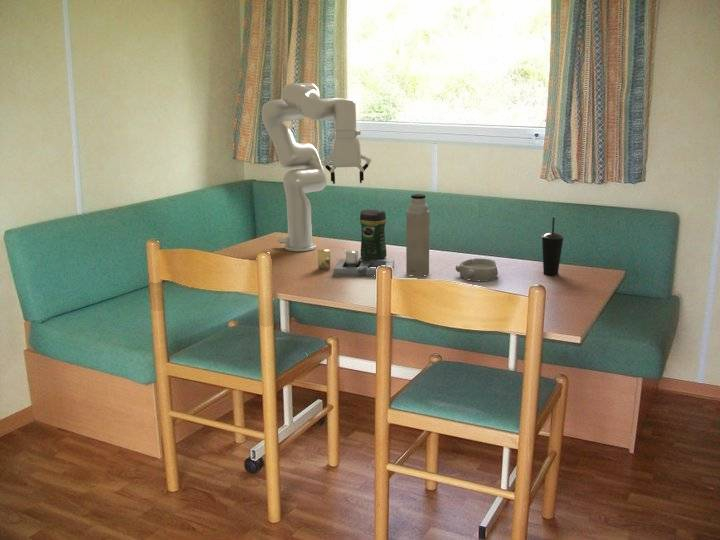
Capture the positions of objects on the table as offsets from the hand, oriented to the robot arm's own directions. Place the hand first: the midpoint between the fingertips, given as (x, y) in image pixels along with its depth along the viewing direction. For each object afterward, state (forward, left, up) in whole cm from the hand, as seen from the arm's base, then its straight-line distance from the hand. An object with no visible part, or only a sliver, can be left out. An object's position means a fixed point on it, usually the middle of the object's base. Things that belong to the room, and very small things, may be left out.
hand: (347, 183), depth 277 cm
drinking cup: (+72, -8, -30) cm, 79 cm away
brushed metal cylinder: (+2, -9, -30) cm, 32 cm away
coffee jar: (+8, +10, -30) cm, 33 cm away
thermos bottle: (+26, -11, -30) cm, 41 cm away
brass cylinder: (-8, -7, -30) cm, 32 cm away
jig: (+7, -9, -30) cm, 32 cm away
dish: (+47, -13, -31) cm, 58 cm away
